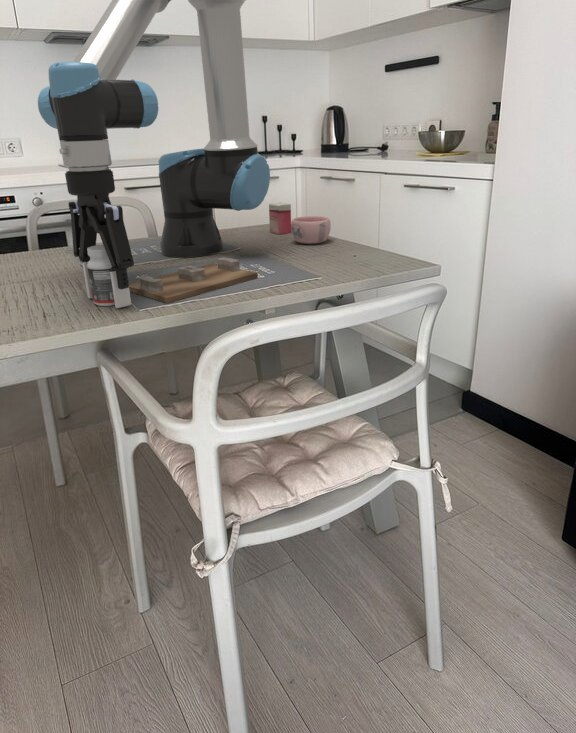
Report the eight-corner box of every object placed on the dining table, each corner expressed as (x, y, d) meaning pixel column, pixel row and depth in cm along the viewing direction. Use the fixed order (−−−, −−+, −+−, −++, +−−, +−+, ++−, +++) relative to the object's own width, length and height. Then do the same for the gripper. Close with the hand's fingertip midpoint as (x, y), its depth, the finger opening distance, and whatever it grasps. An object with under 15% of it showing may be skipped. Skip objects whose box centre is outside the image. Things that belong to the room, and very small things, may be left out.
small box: (269, 232, 161) (268, 203, 158) (281, 230, 164) (280, 202, 160) (279, 235, 158) (278, 205, 154) (292, 233, 160) (291, 203, 157)
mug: (338, 242, 146) (338, 218, 144) (309, 248, 140) (308, 223, 138) (307, 236, 155) (307, 213, 152) (278, 241, 149) (278, 218, 147)
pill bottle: (97, 298, 106) (88, 244, 102) (128, 296, 106) (121, 242, 102) (90, 307, 100) (80, 251, 97) (123, 306, 101) (114, 249, 97)
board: (124, 290, 110) (122, 274, 109) (213, 267, 125) (212, 254, 124) (167, 303, 101) (165, 286, 100) (257, 277, 116) (256, 263, 115)
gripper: (37, 168, 99) (61, 295, 108) (101, 172, 85) (122, 318, 94) (77, 165, 104) (97, 286, 112) (144, 169, 90) (161, 307, 99)
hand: (109, 301), depth 103 cm, fingers open, 9 cm apart
